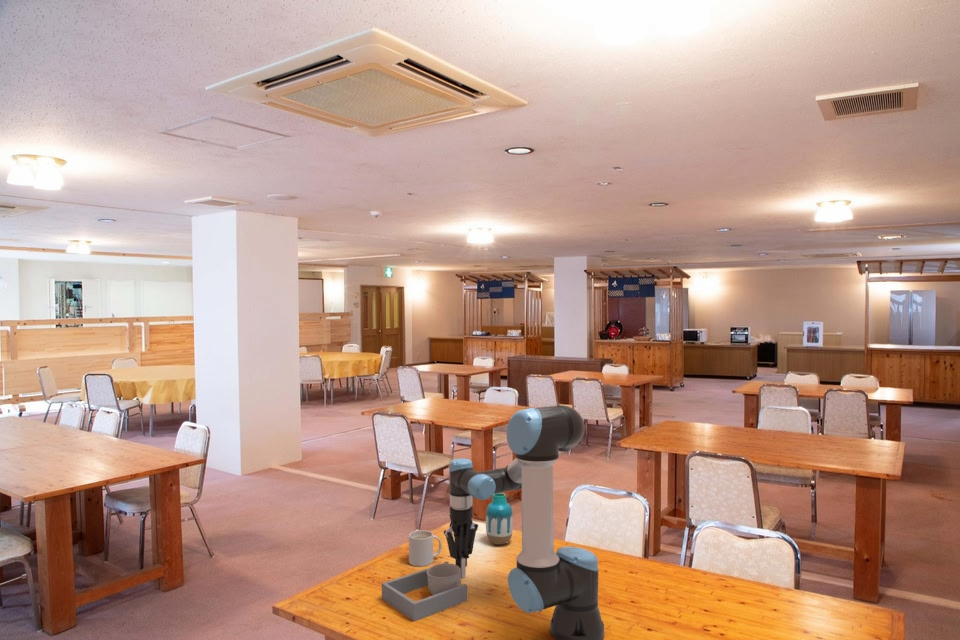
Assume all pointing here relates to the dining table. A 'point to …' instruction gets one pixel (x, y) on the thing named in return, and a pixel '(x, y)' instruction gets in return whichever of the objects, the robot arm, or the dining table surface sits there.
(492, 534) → the vase
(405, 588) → the box
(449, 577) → the teacup
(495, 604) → the dining table surface
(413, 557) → the mug
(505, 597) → the dining table surface
